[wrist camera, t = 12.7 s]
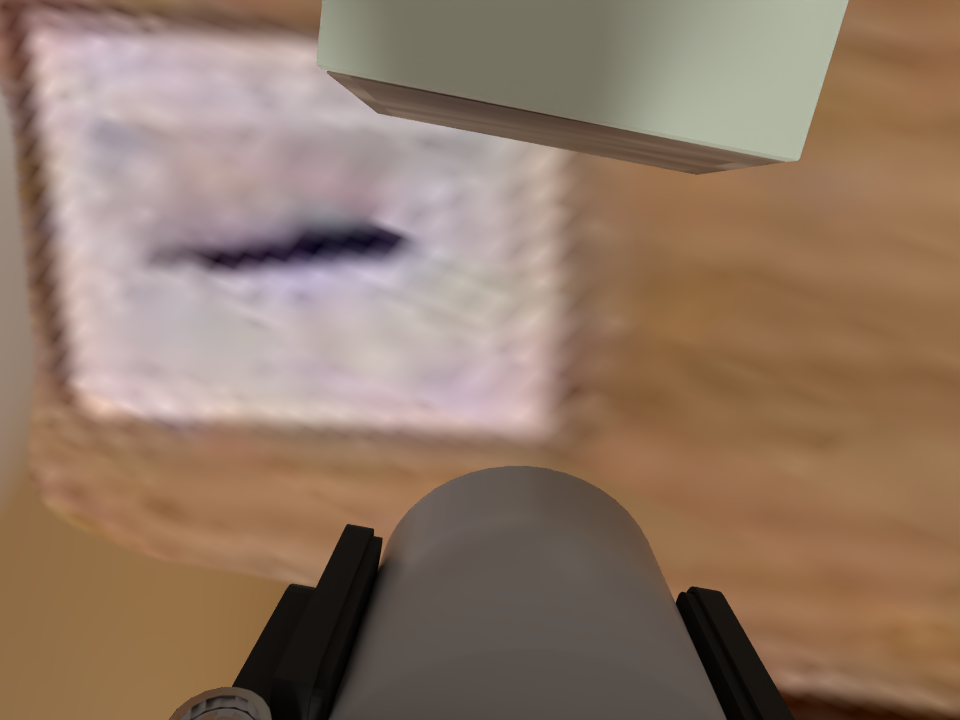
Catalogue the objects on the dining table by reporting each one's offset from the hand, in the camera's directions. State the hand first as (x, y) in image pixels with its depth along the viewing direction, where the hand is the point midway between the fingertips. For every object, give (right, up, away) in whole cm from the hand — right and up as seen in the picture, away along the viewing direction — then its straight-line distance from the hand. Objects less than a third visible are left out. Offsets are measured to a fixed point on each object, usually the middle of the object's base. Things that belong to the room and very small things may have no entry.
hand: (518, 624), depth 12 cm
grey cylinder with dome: (0, 0, +1) cm, 1 cm away
